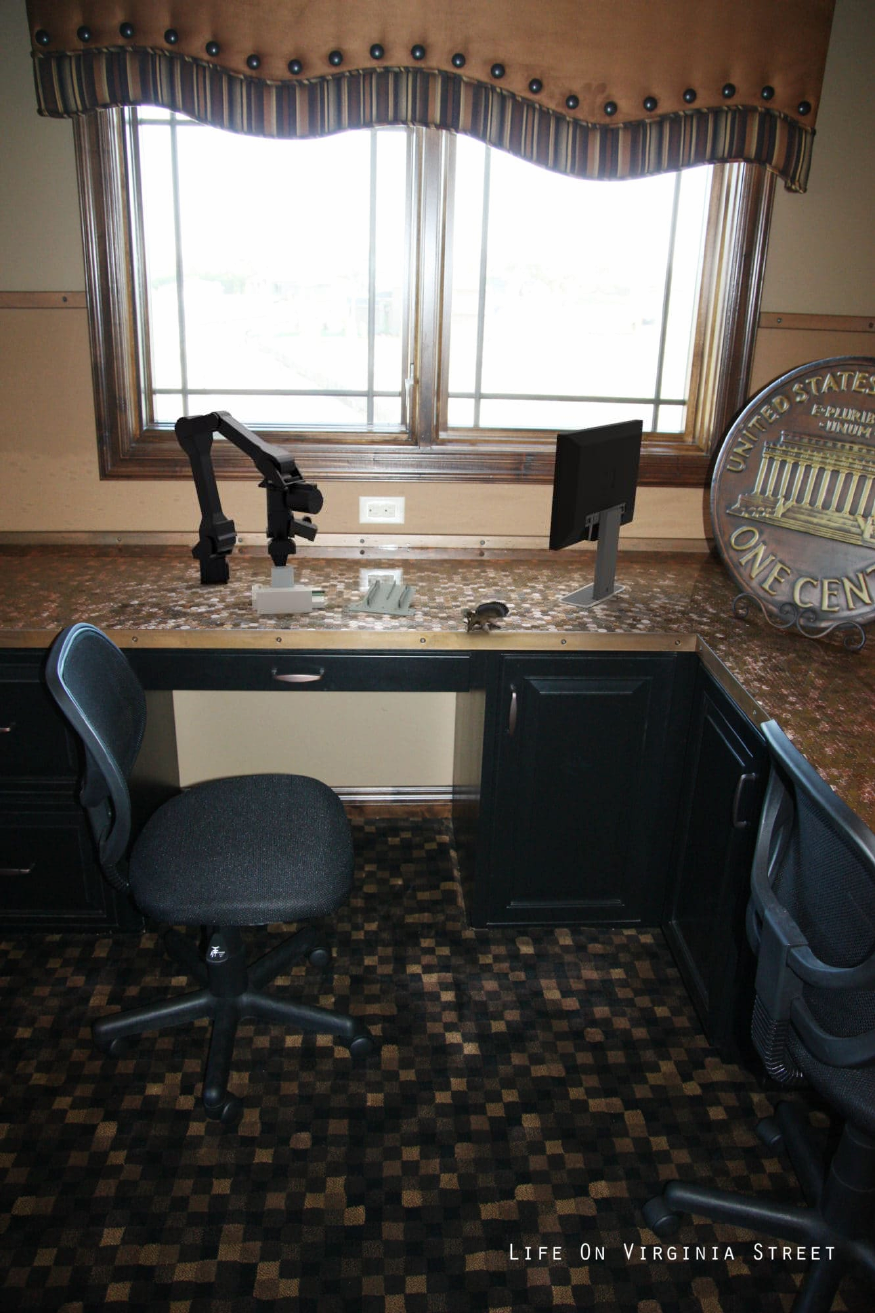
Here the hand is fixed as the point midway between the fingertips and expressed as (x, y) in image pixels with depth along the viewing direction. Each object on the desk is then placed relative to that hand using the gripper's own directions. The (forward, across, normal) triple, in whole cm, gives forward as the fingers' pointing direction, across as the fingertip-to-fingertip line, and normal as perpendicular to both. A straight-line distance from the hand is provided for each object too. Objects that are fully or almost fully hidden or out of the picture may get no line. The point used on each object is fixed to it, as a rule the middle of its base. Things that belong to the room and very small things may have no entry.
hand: (281, 575), depth 213 cm
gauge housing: (+5, -6, -1) cm, 8 cm away
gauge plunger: (+4, -5, -2) cm, 7 cm away
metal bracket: (+6, -10, -24) cm, 26 cm away
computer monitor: (+5, -7, -74) cm, 75 cm away
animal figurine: (+5, -29, -41) cm, 51 cm away
